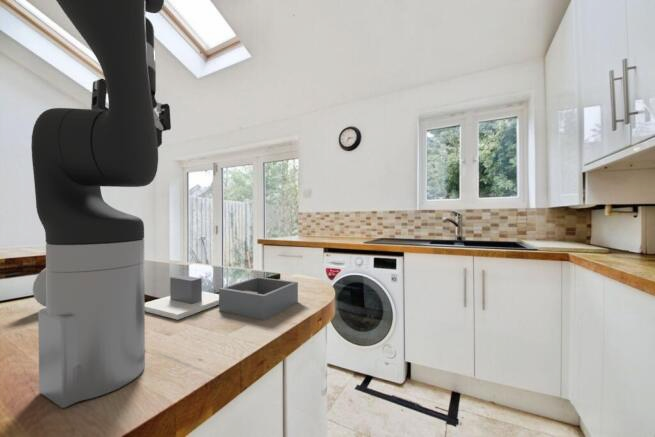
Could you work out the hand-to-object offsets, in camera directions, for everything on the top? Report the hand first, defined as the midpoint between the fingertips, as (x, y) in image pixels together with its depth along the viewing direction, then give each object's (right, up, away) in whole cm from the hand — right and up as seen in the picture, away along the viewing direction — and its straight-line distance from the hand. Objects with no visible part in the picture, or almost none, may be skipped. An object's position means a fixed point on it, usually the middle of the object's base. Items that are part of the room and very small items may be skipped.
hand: (135, 142), depth 57 cm
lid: (+10, -36, +2) cm, 37 cm away
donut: (-19, -36, +3) cm, 41 cm away
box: (+26, -36, +2) cm, 45 cm away
